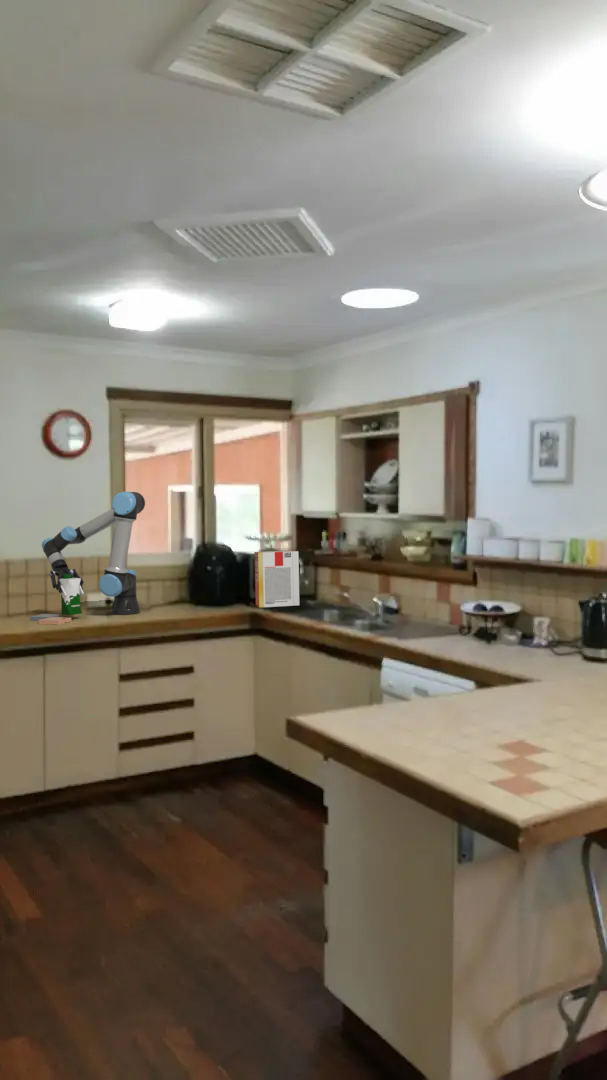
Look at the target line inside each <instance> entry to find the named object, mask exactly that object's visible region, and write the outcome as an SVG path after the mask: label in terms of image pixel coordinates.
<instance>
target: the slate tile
mask: <svg viewBox="0 0 607 1080" xmlns="http://www.w3.org/2000/svg"><path fill="white" fill-rule="evenodd" d="M50 617H63V614H62V613H61V614H57V613H41V614H36V615H32V616H30V617H29V618H30V619H29V620H30V621H31V622H32V621H34V622H39V620H41V619H45V618H50Z"/></svg>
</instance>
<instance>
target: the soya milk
mask: <svg viewBox="0 0 607 1080" xmlns="http://www.w3.org/2000/svg"><path fill="white" fill-rule="evenodd" d="M81 579H82V578H81V577H80V578H71V574H64V575H63V578H61V579H59V581H60V583H61V584H60V586H63V588H64V590H65V593H66V595H67V596H66V598H65V599H64V598H63V596H62V594H61V593H60V596H61V598H60V599H61V601H60V602H61V614H62V616H63V615H65V616H73V615H80V614H82V607H81V605H82V604H81V596H80V581H81Z"/></svg>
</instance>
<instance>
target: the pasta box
mask: <svg viewBox="0 0 607 1080" xmlns="http://www.w3.org/2000/svg"><path fill="white" fill-rule="evenodd" d="M299 563H300V559H299V550H275V551H274V550H271V551H254V578H255V579H254V581H255V582H254V583H255V585H254V586H255V588H254V590H255V606H256V605H257V606H258V607H257V606H256V607H257V608H259V609H260V608H275V607H291V606H292V607H293V606H300V568H299V567H300V565H299Z"/></svg>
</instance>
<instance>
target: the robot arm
mask: <svg viewBox="0 0 607 1080" xmlns="http://www.w3.org/2000/svg"><path fill="white" fill-rule="evenodd" d="M145 507H146V499H145V497H144V495H142V494H141V493H140V492H137V491H126V490H125V491H122V492H119V493H117V494H116V495H115V496H114V497H113V499H112V501H111V509H109V510H107V511H105V512H103V513H102V514H99V515H98V516H96V517H94V518H93V519H90V520H89V521H87V522H85V523H84V524H82V525H80V526H78V527H76V528H74V527H72V526H70V525H67V526H65V527H64V528H62V529H61V530H60V532H58V533H57V535H55V536H54V537H47V538H46V539H44V540H43V541H42V542H41V548H42V552H44V554H45V557H46V558H47V561H48V563H49V564H50V565H49V566H50V567H51V569H52V570H50V571H49V576H50V580H51V586H52V589H55V590H56V591H58V592H59V594H60V595H61V594H62V596H63V598H64V599H65V598H66V596H67V595H66V593H65V590H64V588H63V586H60V584H61V583H60V581H59V579H63V575H64V574H71V578H81V576H80V575H79V574H78V572H77V571H76V568H73V569H70V567H69V566H68V563H67V562H66V560H65V557H64V555H63V554H62V551H63V550H64V549H65V548H67V546H69V545H75V544H76V545H78V544H81V543H84V542H85V541H86V540H87V539H88V538H91V537H93V536H95V535H97V534H98V533H100V532H102V531H103V530H105V529H107V528H109V527H111V526H113V525H114V527H113V528H114V530H113V533H112V534H113V536H112V542H111V547H110V553H109V554H110V555H109V561H108V565H107V566H106V567H104V572H103V573H104V574H103V575H102V576H101V578H100V579H99V583H98V585H99V586H98V588H99V589H100V592H101V593H102V594H103V595H105V596H107V597H109V598H111V597H112V598H113V601H112V605H111V609H110V613H112V614H111V615H134V614H139V613H141V607H140V605H139V602H138V601H139V600H138V598H137V573H136V570H135V569H127V568H126V566H127V560H128V553H129V548H130V540H131V535H132V528H133V524H134V522H135V521H137V518H138V517H137V516H138V514H140V513H142V512H143V510H144V509H145ZM56 577H57V581H56ZM84 583H85V582H84V581H83V579H82V578H81V581H80V598H83V597H84V594H85V592H84V588H83V585H84Z"/></svg>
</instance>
